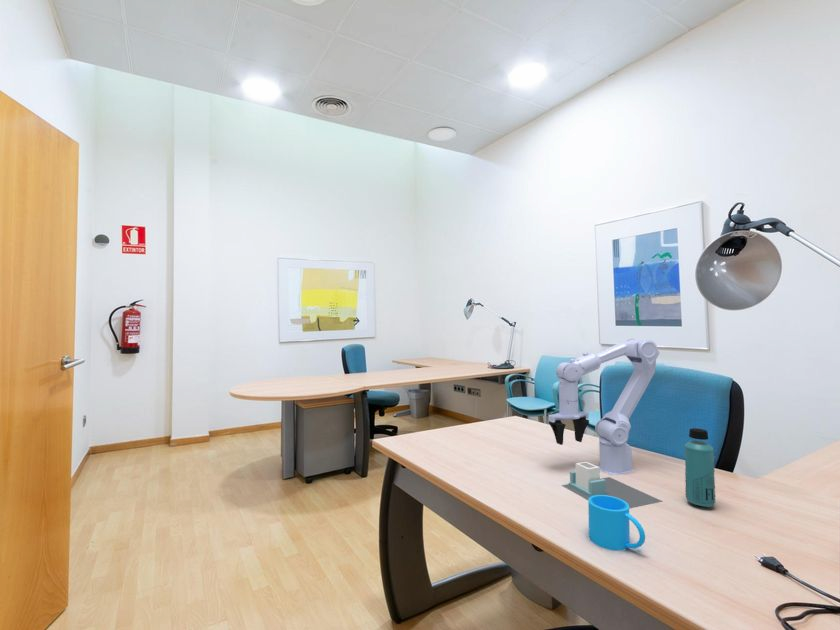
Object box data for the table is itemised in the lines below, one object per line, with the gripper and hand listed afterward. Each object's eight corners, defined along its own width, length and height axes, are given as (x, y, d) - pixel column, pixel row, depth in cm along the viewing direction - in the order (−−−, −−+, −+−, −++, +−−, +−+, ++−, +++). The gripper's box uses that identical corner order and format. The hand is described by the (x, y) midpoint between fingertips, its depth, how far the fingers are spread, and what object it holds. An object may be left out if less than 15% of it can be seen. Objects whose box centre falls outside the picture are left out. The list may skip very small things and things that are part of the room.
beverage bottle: (707, 515, 100) (705, 434, 100) (679, 504, 106) (678, 428, 106) (721, 509, 103) (719, 430, 103) (693, 499, 109) (692, 425, 109)
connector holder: (585, 482, 120) (585, 469, 120) (607, 493, 112) (607, 479, 112) (568, 485, 117) (568, 472, 118) (590, 497, 109) (590, 482, 110)
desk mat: (609, 478, 124) (609, 477, 124) (662, 503, 107) (662, 501, 107) (561, 487, 117) (561, 485, 118) (609, 514, 101) (609, 512, 101)
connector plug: (586, 482, 118) (586, 461, 118) (599, 489, 113) (599, 467, 113) (575, 484, 116) (575, 463, 116) (588, 491, 111) (588, 469, 112)
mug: (581, 537, 90) (580, 500, 90) (602, 527, 94) (602, 492, 95) (634, 564, 80) (633, 522, 80) (655, 551, 84) (655, 512, 84)
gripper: (558, 404, 123) (559, 448, 123) (595, 400, 129) (596, 443, 128) (544, 400, 130) (544, 442, 130) (579, 396, 135) (580, 437, 135)
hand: (569, 442), depth 130 cm, fingers open, 7 cm apart
